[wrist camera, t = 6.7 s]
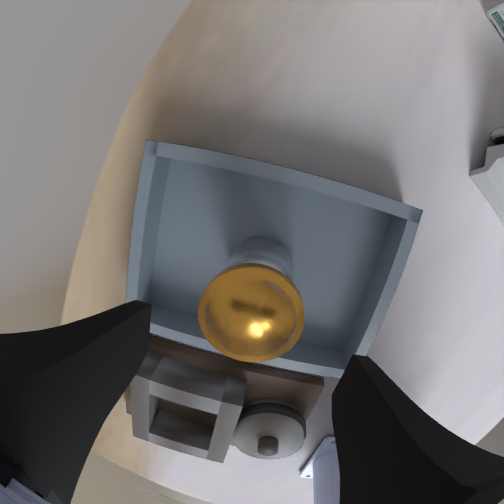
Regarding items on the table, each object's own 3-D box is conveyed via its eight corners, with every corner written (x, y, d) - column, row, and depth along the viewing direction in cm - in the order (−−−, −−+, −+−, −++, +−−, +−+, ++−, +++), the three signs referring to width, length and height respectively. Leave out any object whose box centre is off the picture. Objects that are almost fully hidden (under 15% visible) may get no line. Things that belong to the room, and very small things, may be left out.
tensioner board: (323, 378, 22) (328, 417, 18) (286, 447, 25) (285, 482, 21) (129, 327, 22) (103, 358, 18) (130, 406, 25) (112, 436, 21)
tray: (403, 203, 18) (422, 210, 15) (346, 356, 21) (353, 380, 18) (165, 142, 18) (146, 139, 15) (142, 305, 22) (125, 324, 19)
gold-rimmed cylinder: (305, 241, 19) (319, 285, 12) (285, 306, 20) (286, 371, 13) (234, 222, 19) (208, 256, 12) (219, 288, 20) (190, 346, 13)
